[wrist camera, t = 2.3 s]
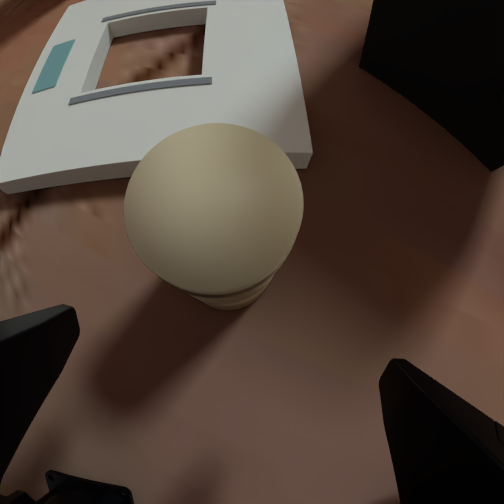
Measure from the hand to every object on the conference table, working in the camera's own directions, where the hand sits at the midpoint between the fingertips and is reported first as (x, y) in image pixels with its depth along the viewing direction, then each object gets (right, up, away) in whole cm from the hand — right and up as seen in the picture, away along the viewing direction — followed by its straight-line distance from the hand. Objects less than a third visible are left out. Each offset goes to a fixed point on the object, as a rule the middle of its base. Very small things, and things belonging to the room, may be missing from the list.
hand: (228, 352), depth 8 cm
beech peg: (-1, +2, +10) cm, 10 cm away
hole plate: (-7, +18, +13) cm, 24 cm away
